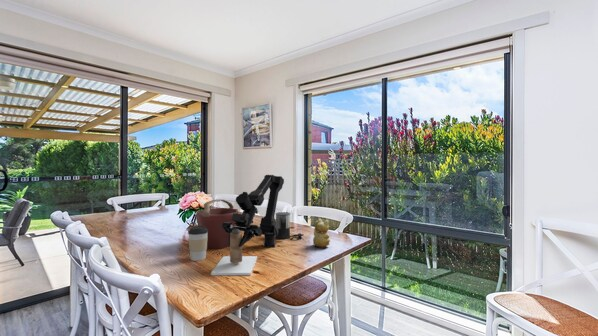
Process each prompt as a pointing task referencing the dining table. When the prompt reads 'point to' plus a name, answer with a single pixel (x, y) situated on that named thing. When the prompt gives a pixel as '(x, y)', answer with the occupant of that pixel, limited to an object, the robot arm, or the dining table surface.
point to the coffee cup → (198, 242)
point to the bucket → (216, 223)
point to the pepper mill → (235, 246)
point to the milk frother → (284, 226)
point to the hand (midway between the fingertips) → (234, 246)
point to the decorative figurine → (321, 234)
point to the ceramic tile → (235, 266)
